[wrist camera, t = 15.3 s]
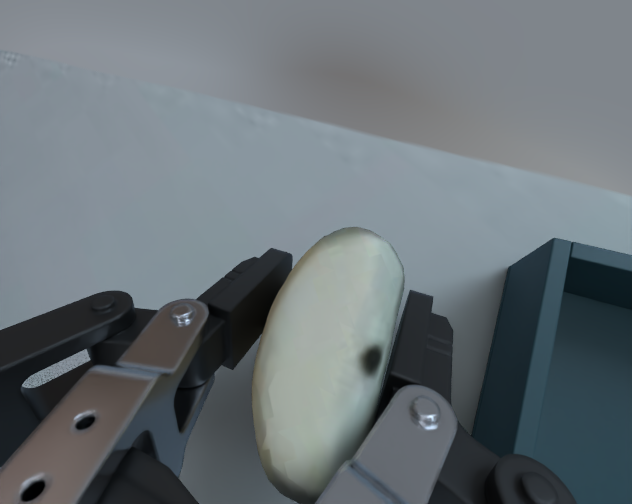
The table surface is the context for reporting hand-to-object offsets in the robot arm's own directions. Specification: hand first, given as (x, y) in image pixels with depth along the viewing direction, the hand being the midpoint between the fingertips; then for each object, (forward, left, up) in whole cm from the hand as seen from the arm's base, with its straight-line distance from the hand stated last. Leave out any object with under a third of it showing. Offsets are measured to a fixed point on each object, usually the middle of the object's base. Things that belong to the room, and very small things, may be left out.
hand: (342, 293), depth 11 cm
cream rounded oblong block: (0, -2, -4) cm, 5 cm away
